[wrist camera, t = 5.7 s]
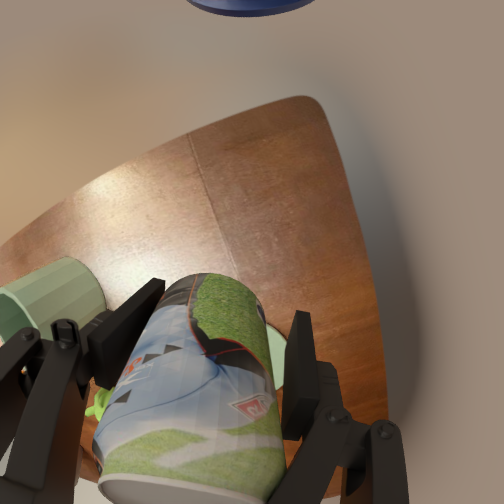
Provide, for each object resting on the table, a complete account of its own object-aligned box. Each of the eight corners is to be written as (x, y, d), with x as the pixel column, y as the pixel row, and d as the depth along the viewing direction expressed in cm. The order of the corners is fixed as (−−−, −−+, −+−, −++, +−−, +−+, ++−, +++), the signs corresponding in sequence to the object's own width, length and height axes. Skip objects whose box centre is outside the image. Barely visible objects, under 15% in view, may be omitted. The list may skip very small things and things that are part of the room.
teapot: (106, 366, 43) (82, 393, 35) (159, 401, 43) (141, 433, 35) (96, 394, 46) (77, 419, 38) (142, 425, 46) (127, 453, 38)
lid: (196, 302, 37) (172, 338, 28) (304, 325, 36) (308, 368, 27) (189, 380, 41) (171, 420, 32) (279, 400, 40) (276, 444, 31)
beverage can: (165, 259, 15) (2, 398, 4) (297, 273, 15) (308, 502, 3) (171, 350, 17) (80, 499, 6) (283, 366, 17) (268, 552, 5)
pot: (37, 246, 38) (-24, 271, 24) (119, 271, 37) (54, 315, 23) (44, 313, 42) (-5, 348, 28) (121, 347, 41) (75, 401, 27)
